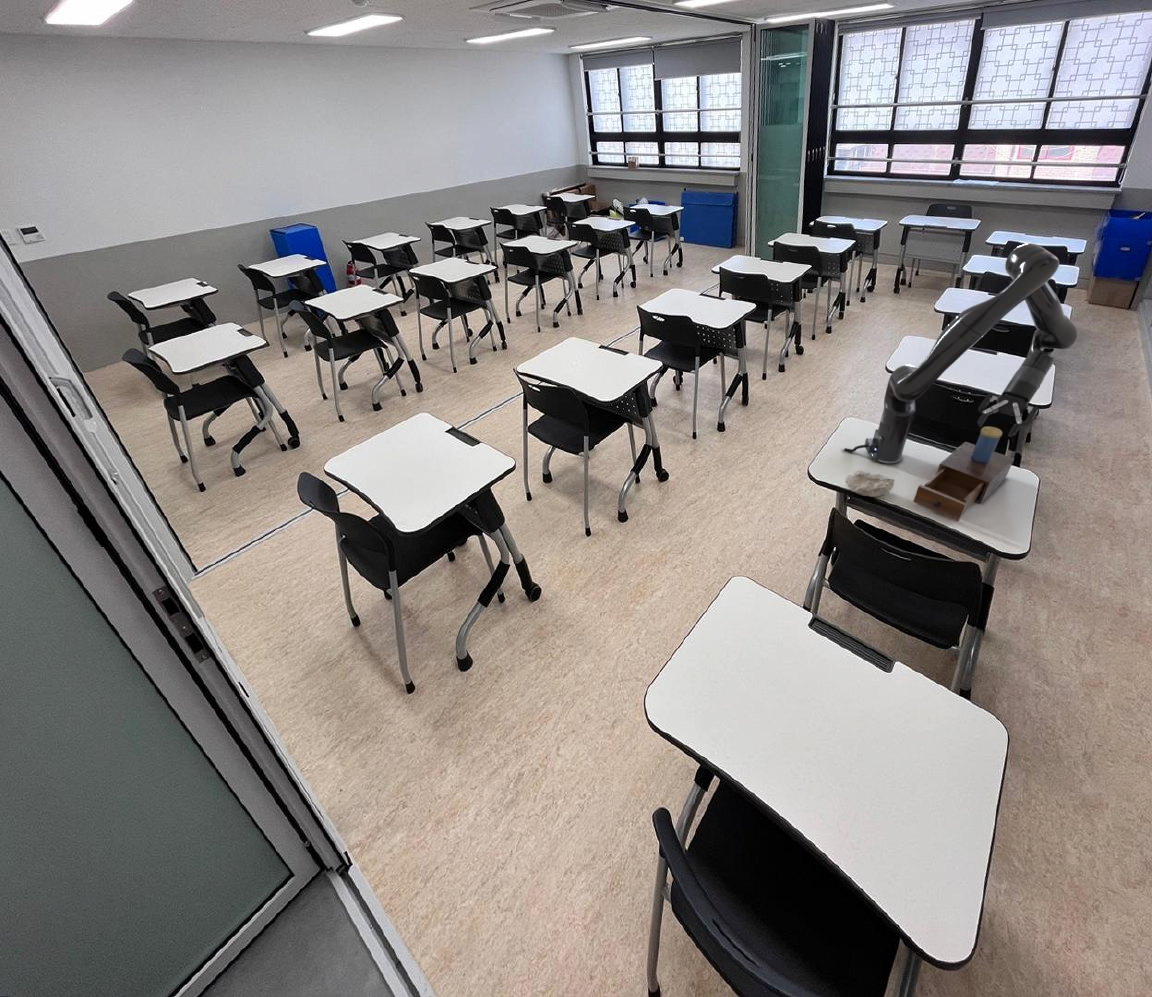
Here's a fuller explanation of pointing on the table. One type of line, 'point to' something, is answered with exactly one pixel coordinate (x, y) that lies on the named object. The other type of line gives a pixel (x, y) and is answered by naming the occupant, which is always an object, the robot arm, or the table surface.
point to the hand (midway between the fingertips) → (994, 430)
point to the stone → (869, 484)
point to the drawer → (949, 493)
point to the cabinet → (978, 468)
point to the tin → (986, 444)
